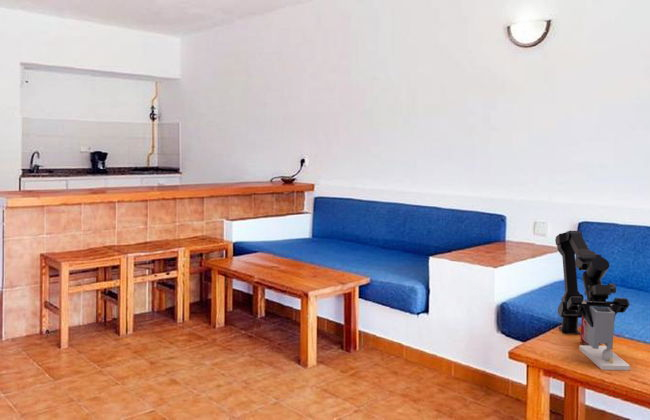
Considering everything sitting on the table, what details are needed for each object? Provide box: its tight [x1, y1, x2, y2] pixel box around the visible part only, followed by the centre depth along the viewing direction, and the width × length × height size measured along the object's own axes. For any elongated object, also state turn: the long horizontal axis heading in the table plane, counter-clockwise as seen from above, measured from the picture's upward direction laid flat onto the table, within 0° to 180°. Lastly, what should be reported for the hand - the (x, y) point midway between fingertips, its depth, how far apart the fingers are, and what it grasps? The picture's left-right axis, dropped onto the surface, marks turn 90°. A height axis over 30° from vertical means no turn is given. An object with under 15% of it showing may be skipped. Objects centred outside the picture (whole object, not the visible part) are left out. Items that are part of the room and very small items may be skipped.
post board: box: [578, 344, 631, 371], centre depth 196 cm, size 18×9×5 cm, turn 178°
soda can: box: [579, 316, 590, 346], centre depth 210 cm, size 7×7×12 cm
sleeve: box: [587, 307, 616, 350], centre depth 191 cm, size 6×6×12 cm
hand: (602, 327), depth 190 cm, fingers closed on sleeve, 6 cm apart
